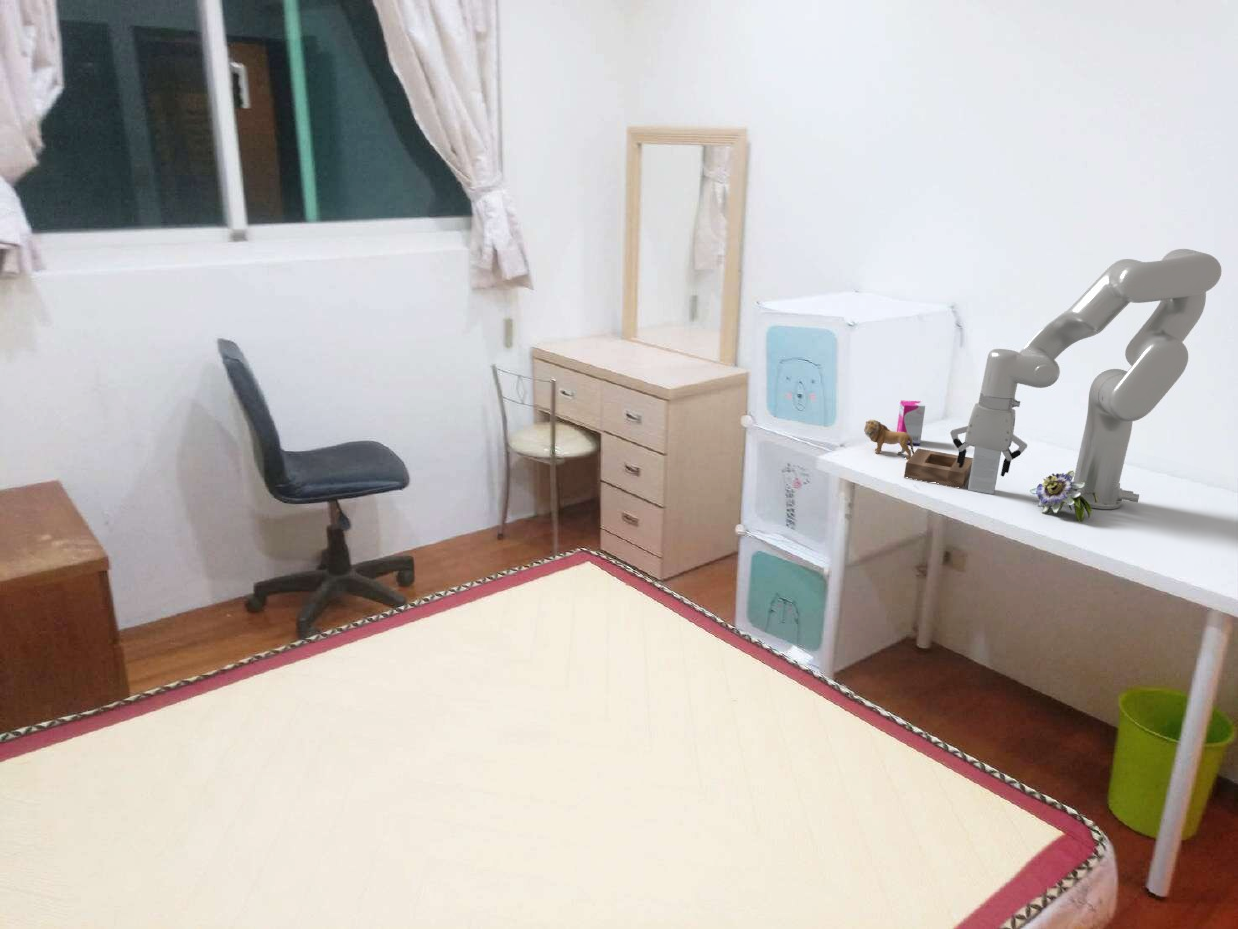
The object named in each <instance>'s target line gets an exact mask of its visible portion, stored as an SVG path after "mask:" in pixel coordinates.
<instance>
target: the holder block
mask: <svg viewBox="0 0 1238 929" xmlns="http://www.w3.org/2000/svg"><path fill="white" fill-rule="evenodd" d="M957 459H958V454H951V453H946V452H940V451H935V450H930V449H924V448H917V449H916V450H914V454H913V453H912V454H911V457H910V459H907V461H906V463H905V468H904V476H903V478H904V477H908V478H912V479H911V480H914V479H917V480H916V481H919V480H922V481H921V482H924V481H927V482H926V483H929V482H936V483H939V484H943V485H942V486H945V485H947V486H946V487H950V486H951V487H952V488H955V487H959V488H958V489H960V488H964V487H965V485H966V484H965V483H967V482H968V481H969V479H970V473H971V468H972V461H973V457H969V456H965V461H964V465H963V467H961V468H959V463H957ZM908 478H907V479H908ZM939 484H938V485H939ZM951 487H950V488H951Z"/></svg>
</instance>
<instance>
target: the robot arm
mask: <svg viewBox="0 0 1238 929" xmlns="http://www.w3.org/2000/svg"><path fill="white" fill-rule="evenodd" d="M1221 276H1222V266H1221V263H1220V262H1219V260H1218V259H1217V258H1216V257H1214V256H1213V255H1211V254H1208V253H1206V252H1202V251H1197V250H1193V249H1188V248H1177V249H1174V250H1171V251H1170V252H1168V253H1167V254H1165V256H1163V258H1162V259H1161V260H1155V261H1154V260H1153V261H1147V262H1146V261H1141V260H1137V259H1132V258H1124V259H1119V260H1117V261H1115V262H1114V263H1113V264H1111V265H1110V266H1109V267H1107V269H1106V270H1105V271H1104V272H1103V273H1102V274H1101V275H1100V276H1099V277H1098V278H1097V279H1096V280H1095V282H1094V283H1092V285H1090V287H1089V288H1087V290H1086V291H1085V292H1084V293H1083V294H1082V295H1081V296H1080V297H1079V298H1077V300H1076V301H1075V303H1073V304H1072V305H1071V306H1070V307H1069V308H1068V309H1067V310H1065V311H1064V312H1062V313H1061V314H1059V315H1058V316H1057V317H1056V318H1054V319H1053V320H1052V321H1050V322H1049V323H1047V324H1046V325H1045V326H1044V327H1043V328H1041V329H1040V330H1039V331H1038V332H1037V333H1036V334H1035V335H1034V336H1033V337H1032V338H1031V339H1030V340H1029V341H1028V342H1027V343H1026V344H1025V345H1024V346H1023V348H1022V349H1021V350H1020V351H1019V352H1018V351H1016V350H1012V349H1007V348H994V349H992V350H990V351H989V352H988V354H987V358H986V364H985V368H984V373H983V380H982V384H981V389H980V393H979V399H978V402H977V403H975V404H974V406H973V409H972V411H971V414H970V417H969V421H968V424H967V425H966V426H962V427H958V428H955V429H954V428H953V429H952V430H951V431H950V436H951V440H952V443H953V445H955V447H956V448H957V450H958V454H957V455H958V459H957V463H959V468H961V467H963V465H964V461H965V457H967V456H966V454H967V448H969V447H974V448H975V446H978V447H982V448H986V449H991V450H995V451H1001V454H1003V456H1004V457H1005V458H1004V460H1003V463H1002V468H1001V473H1000V476H1001V477H1002V478H1003V477H1005V474H1009V471H1010V466H1011V462H1012V460H1014V459H1017V458H1018V457H1019V456H1021V455H1022V453H1024V452H1025V450H1026V449H1027V448H1028V443H1026V442H1025V441H1023V440H1022V439H1021V438H1020V437H1018V436H1017V435H1015V434H1014V433H1015V432H1014V430H1015V424H1016V410H1015V409H1014V408H1020V406H1021V401H1020V400H1017V399H1016V394H1017V393H1016V392H1017V389H1018V388H1017V387H1018V385H1019V384H1020V385H1024V386H1028V387H1031V388H1037V389H1038V388H1039V389H1044V388H1048V387H1050V386H1052V385H1054V384H1055V383H1056V382H1057V381H1058V380H1059V377H1060V373H1061V369H1060V366H1059V364H1058V362H1057V361H1056V359H1057V358H1058V357H1059V356H1060V355H1061V354H1062V353H1063V352H1064V351H1066V349H1068V348H1069V347H1071V346H1072V345H1073V344H1075V343H1077V342H1079V341H1082V340H1086V339H1088V338H1091V337H1094V336H1096V335H1098V334H1100V333H1101V332H1103V331H1104V330H1105V329H1106V327H1108V326H1109V325H1110V324H1111V323H1112V322H1113V320H1115V318H1116V317H1117V316H1119V314H1120V313H1121V312H1122V311H1123V310H1124V309H1125V308H1126V307H1128V305H1129V304H1130V303H1134V304H1141V303H1143V304H1144V303H1152V302H1159V303H1158V305H1157V307H1156V308H1155V309H1154V311H1153V312H1152V314H1151V315H1150V316H1149V317H1148V318H1147V320H1146V321H1145V322H1144V324H1143V325H1142V327H1141V328H1140V329H1139V330H1138V331H1137V333H1136V334H1135V335H1134V336H1133V337H1132V339H1131V340H1130V341H1129V343H1128V344H1127V345H1126V348H1125V353H1124V354H1125V355H1124V356H1125V359H1126V361H1127V363H1128V364H1129V365H1130V368H1129V369H1128V370H1124V369H1120V368H1112V369H1111V368H1110V369H1107V370H1106V369H1105V370H1103V371H1102V372H1101V373H1099V374H1098V375H1097V376H1096V377H1095V378H1094V379H1093V381H1092V383H1091V385H1090V388H1089V393H1088V404H1087V415H1086V420H1085V421H1086V422H1085V425H1084V430H1083V435H1082V439H1081V442H1080V449H1079V451H1078V452H1079V453H1078V457H1077V462H1076V467H1075V472H1074V477H1073V479H1072V481H1073V482H1084V483H1085V486H1084V487H1083V488H1080V489H1078V490H1077V491H1078V492H1080V493H1081V494H1082V495H1080V496H1082V497H1083V498H1084V499H1085V500H1086V501H1087V502H1088V503H1089V505H1090V506H1091V509H1096V510H1097V509H1098V510H1115V509H1119V508H1121V507H1122V505H1123V500H1125V501H1129V502H1134V503H1137V504H1138V502H1139V499H1140V494H1137V493H1134V491H1132V490H1126V489H1123V488H1121V483H1120V481H1121V478H1122V477H1121V476H1122V472H1123V470H1124V464H1125V459H1126V456H1127V452H1128V447H1129V442H1130V439H1131V435H1132V429H1133V422H1136V421H1138V420H1141V419H1143V418H1144V417H1146V416H1147V415H1149V414H1150V413H1151V411H1153V409H1155V408H1156V406H1157V405H1158V404H1159V403H1160V402H1161V401H1162V399H1163V398H1164V397H1165V396H1166V394H1167V393H1168V392H1169V391H1170V390H1171V389H1172V388H1173V386H1174V385H1175V384H1176V383H1177V381H1178V380H1179V379H1180V378H1181V376H1182V375H1183V373H1184V372H1185V370H1186V367H1187V365H1188V362H1189V350H1188V349H1187V348H1188V347H1186V345H1185V344H1184V343H1183V342H1184V341H1185V340H1186V339H1187V337H1188V336H1189V334H1190V333H1191V331H1192V330H1193V329H1194V327H1195V326H1196V325H1197V323H1198V322H1199V320H1200V319H1201V316H1202V315H1203V313H1204V309H1205V305H1206V299H1207V292H1208V291H1210V290H1212V289H1213V288H1214V287H1215V286H1216V285H1217V284H1218V283H1219V281H1220V279H1221ZM961 434H965V437H964V438H965V439H964V441H963V442H962V441H961V439H960V438H959V435H961ZM1012 443H1014V444H1015V445H1017V446H1018V448H1017V449H1016V450H1014V451H1012V450H1011V449H1010V448H1011V446H1012ZM1092 492H1096V496H1097V499H1098V502H1095V497H1094V495H1093V494H1092ZM1084 493H1091V494H1084ZM1083 507H1084V505H1083Z"/></svg>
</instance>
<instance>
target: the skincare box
mask: <svg viewBox="0 0 1238 929" xmlns="http://www.w3.org/2000/svg"><path fill="white" fill-rule="evenodd" d="M1001 455H1002V452H1001V451H995V450H991V449H986V448H982V447H978V446H975V447H974V450H973V456H972V458H973V461H972V468H971V473H970V477H969V479H968V487H967V490H968V491H971V492H977V493H982V494H983V493H984V494H988V495H989V494H990V495H994V494H995V490H996V484H997V479H998V473H999V466H1000V461H1001Z"/></svg>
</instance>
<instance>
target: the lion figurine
mask: <svg viewBox="0 0 1238 929" xmlns="http://www.w3.org/2000/svg"><path fill="white" fill-rule="evenodd" d="M863 430H864V435H865V436H866V437H868V438H869V439H870V441H871V442H873V443H876V444H877V445H876V446H877V447H876V448H875V449H874V453H875V455H880V454H881V452H882V447H883V445H884V444H887V445H895V444H898V443H899V445H900V447H901V451H897V455H903V454H904V453H906V454H907V455H905V457H904V458H905V459H906V460H909V459H910V457H911V456H912V455H913V454H914V453H915V450H914V445H913V443H912V439H911V437H910V436H909V435H908V434H907V433H905V432H897V431H892V430H890V429H889V428H888V427H887V426H886V425H885V424H883V423H881V422H880V421H878V420H876V419H869V420H867V421H865V426H864V429H863ZM908 441H910V445H908ZM909 446H910V448H909Z"/></svg>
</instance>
